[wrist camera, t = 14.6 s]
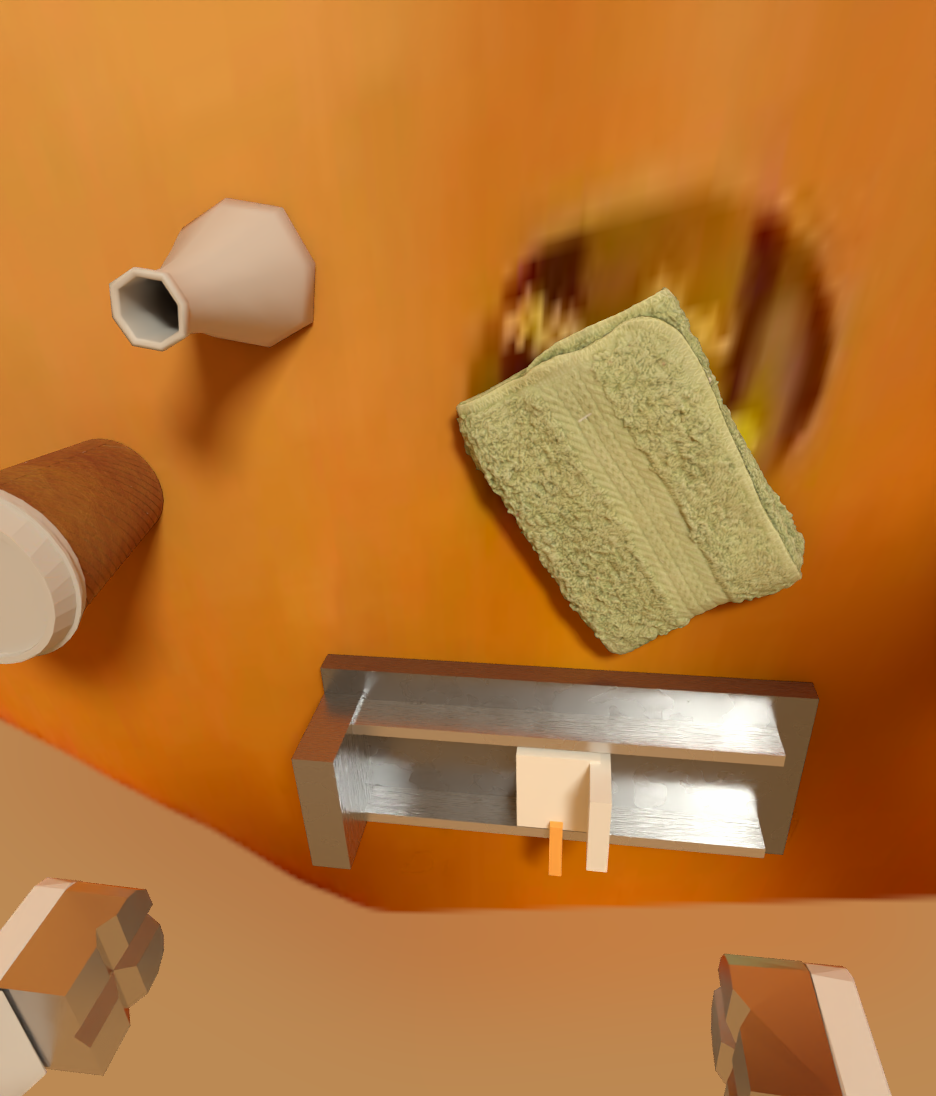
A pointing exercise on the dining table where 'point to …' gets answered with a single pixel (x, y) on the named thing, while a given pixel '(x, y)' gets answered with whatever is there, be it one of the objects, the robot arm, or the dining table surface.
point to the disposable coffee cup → (67, 538)
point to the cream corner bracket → (566, 799)
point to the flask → (221, 282)
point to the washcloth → (633, 477)
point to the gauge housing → (551, 723)
